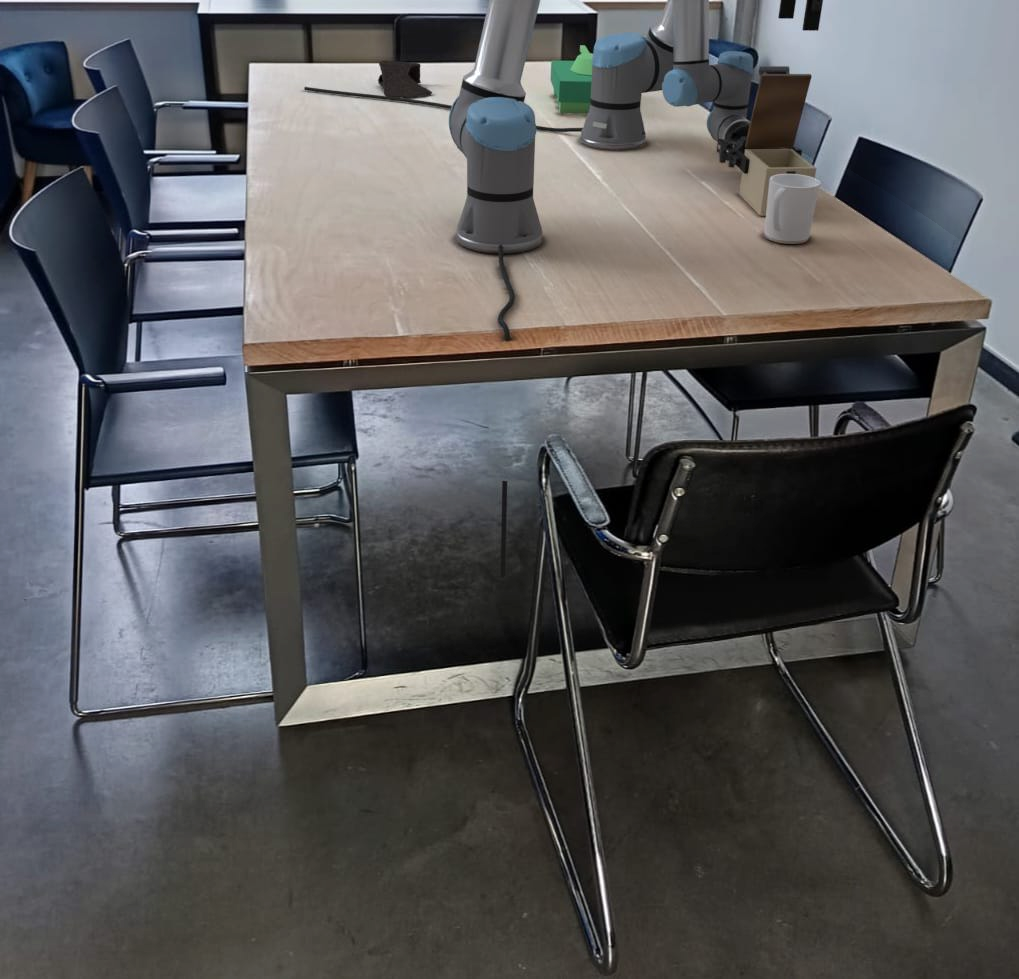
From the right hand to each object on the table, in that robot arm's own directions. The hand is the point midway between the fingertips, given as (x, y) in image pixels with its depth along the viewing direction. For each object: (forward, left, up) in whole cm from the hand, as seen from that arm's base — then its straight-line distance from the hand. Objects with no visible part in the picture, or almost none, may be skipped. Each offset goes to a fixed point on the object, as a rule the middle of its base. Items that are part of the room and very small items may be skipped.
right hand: (772, 166), depth 217 cm
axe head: (-123, -20, -7) cm, 125 cm away
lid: (-1, +1, +10) cm, 10 cm away
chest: (+3, -1, -7) cm, 7 cm away
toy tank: (-90, +17, -7) cm, 92 cm away
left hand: (+2, -1, +27) cm, 27 cm away
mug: (+20, -15, -7) cm, 25 cm away
